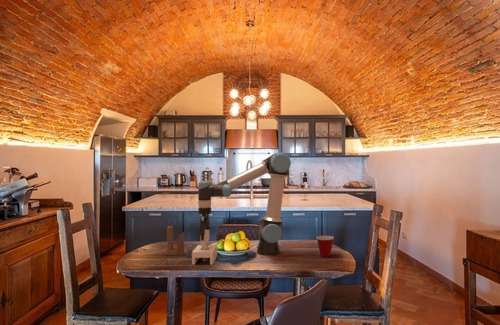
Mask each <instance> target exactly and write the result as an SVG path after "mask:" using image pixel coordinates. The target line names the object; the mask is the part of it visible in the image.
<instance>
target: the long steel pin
mask: <svg viewBox="0 0 500 325" xmlns="http://www.w3.org/2000/svg"><path fill="white" fill-rule="evenodd" d="M208 245H209V240H208V237H207V236H205V246H202V250H208ZM201 261H202V262H207V261H209V258H201Z"/></svg>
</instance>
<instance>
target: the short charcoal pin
mask: <svg viewBox="0 0 500 325" xmlns="http://www.w3.org/2000/svg"><path fill="white" fill-rule="evenodd" d="M193 251H194V248H193V244H187V245H186V257H187V258H192V252H193Z"/></svg>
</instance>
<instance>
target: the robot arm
mask: <svg viewBox="0 0 500 325" xmlns="http://www.w3.org/2000/svg"><path fill="white" fill-rule="evenodd" d="M291 164H292V162H291V159H290V156H289V155H288V154H286V153H284V152H281V151H280V152H279V151H277V152H275V153H272V154H271V155H270V156H268V157H267V158H265V159H263V160H262V161H261V162H260V163H258V164H256V165H254V166H253V167H251V168H248V169H247V170H244V171H242V172H240V173H238V174H235V175H234V176H231V177H230V178H228V179H226V180H224V181H222V182H219V183H217V184H213V183H212V182H211V181H209V180H202V181H201V180H200V181H199V182H198V186H197V187H198V188H197V192H198V193H197V194H198V195H197V196H198V200H197V203H198V211H197V212H198V214H199V215H201V217H200V223H199V233H198V235H199V237H200V238H199V242H200V244H199V245H200V246H205V236H207V237H208V241H210V230H211V224H210V214H211V213H212V198H229V197H231V195H232V193H231V192H232V191H234V190H236V189H237V188H239V187H241V186H244V185H246V184H248V183H251V181H254V180H256V179H258V178H260V177H262V176H264V175H266V174H268V175H269V176H270V181H269V189H268V197H267V204H266V212H265V216H260V217H259V220H258V223H259V232H258V233H259V236H258V238H259V241H258V243H257V244H258V245H257V247H256V253H257V254H258V255H261V256H276V255H279V254H280V253H281V248H280V244H279V241H280V240H281V239H282V236H283V231H282V224H283V220H282V218H281V212H282V204H283V196H284V187H285V182H286V178H288V176H289V169H290V168H291Z"/></svg>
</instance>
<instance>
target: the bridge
mask: <svg viewBox="0 0 500 325" xmlns="http://www.w3.org/2000/svg"><path fill="white" fill-rule="evenodd" d="M217 257H218V244H208V250H202V246H200V244H198V245H197V246H196V247H195V248H193V252H192V257H191V265H196V263H197V262H198V261H199V259H200V258H201V259H202V258H208V259H209V265H210V266H211V265H214V263H215V262H216V260H217Z"/></svg>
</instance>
